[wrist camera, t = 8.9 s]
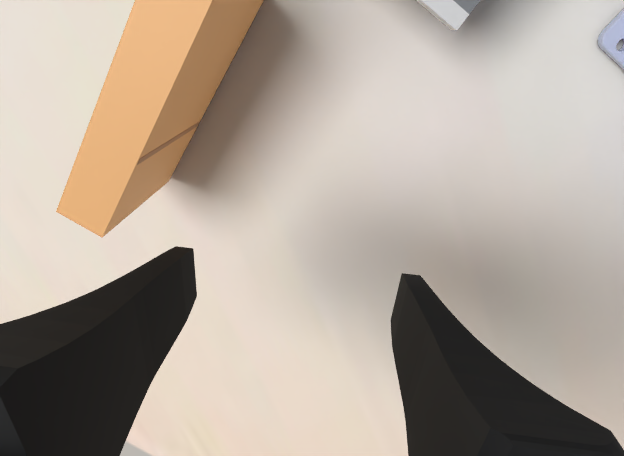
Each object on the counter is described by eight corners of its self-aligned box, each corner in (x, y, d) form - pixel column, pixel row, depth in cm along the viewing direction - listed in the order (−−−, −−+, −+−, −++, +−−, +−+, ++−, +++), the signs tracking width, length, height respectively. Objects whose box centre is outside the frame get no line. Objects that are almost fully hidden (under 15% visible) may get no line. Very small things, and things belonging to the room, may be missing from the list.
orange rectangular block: (169, 181, 22) (102, 237, 16) (136, 161, 21) (55, 211, 15) (267, -7, 17) (224, -25, 11) (228, -37, 16) (161, -73, 11)
